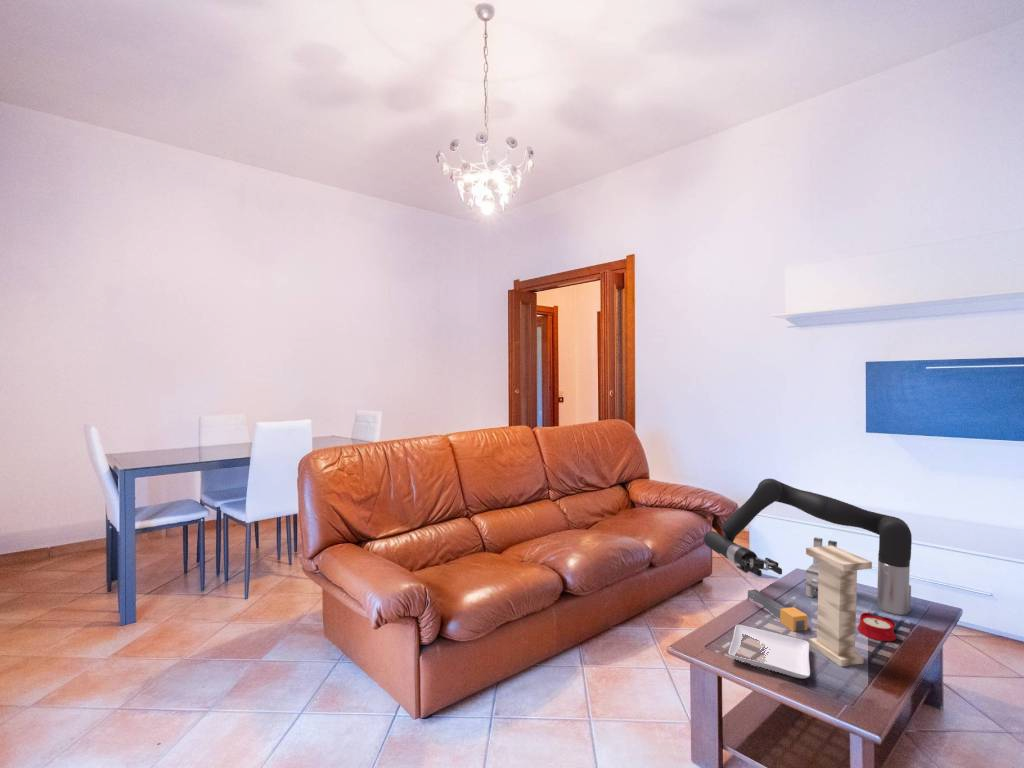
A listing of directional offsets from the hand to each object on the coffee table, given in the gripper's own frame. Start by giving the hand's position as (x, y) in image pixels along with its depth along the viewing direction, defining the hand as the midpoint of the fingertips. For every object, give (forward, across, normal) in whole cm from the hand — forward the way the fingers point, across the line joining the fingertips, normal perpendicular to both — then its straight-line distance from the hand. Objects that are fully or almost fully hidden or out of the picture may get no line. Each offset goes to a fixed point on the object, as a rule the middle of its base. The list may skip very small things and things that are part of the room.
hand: (771, 572), depth 183 cm
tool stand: (+28, 0, +14) cm, 31 cm away
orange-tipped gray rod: (+2, 0, +14) cm, 14 cm away
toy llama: (-8, +30, +14) cm, 34 cm away
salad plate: (+25, -21, +15) cm, 36 cm away
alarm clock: (+20, +25, +14) cm, 35 cm away
